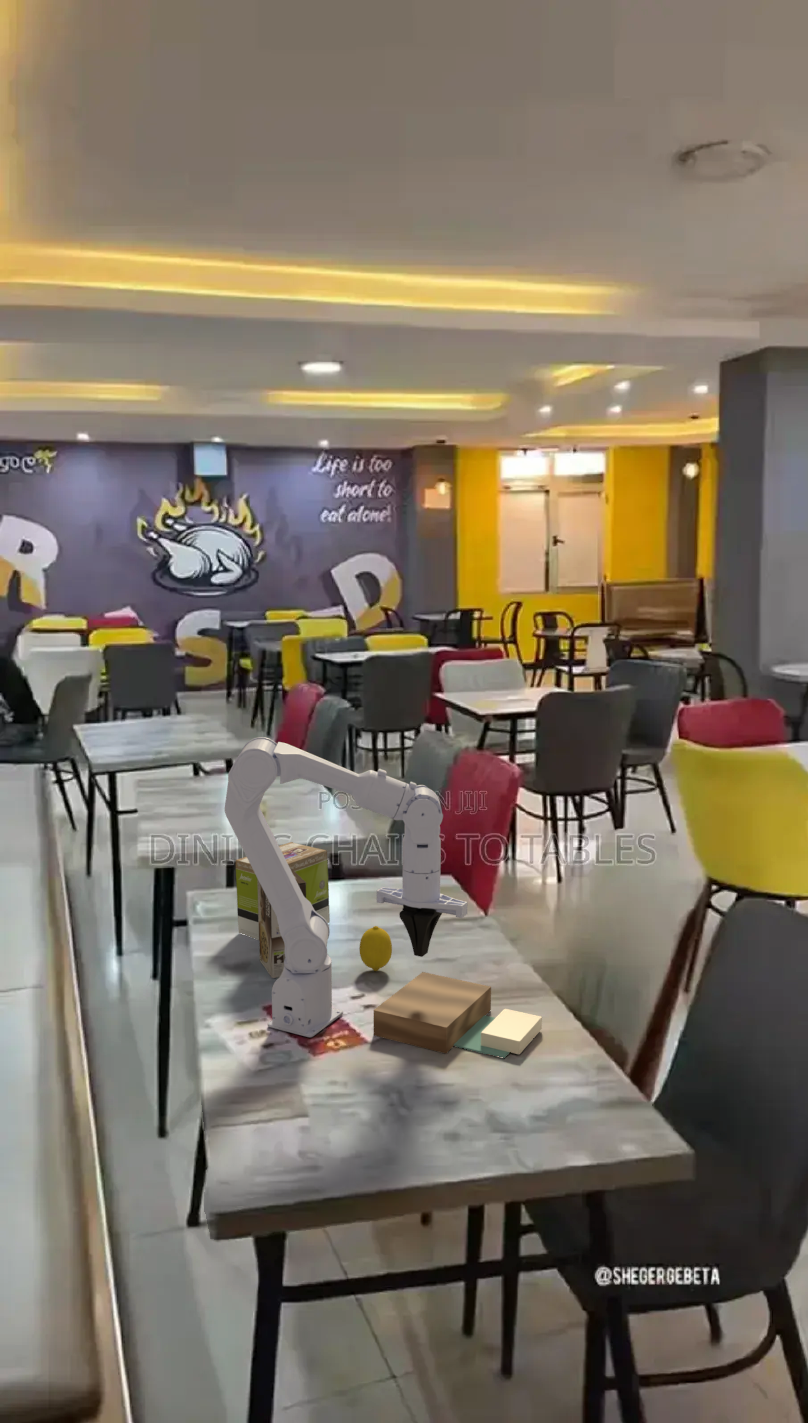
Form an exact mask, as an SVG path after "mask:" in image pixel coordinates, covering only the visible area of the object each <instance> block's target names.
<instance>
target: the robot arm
mask: <svg viewBox="0 0 808 1423" xmlns="http://www.w3.org/2000/svg"><path fill="white" fill-rule="evenodd" d="M387 774H388V773H387V771H386V770H384V769H381V768H378V770H377V771H375V770H373V769H369V770H367V771H364V772H361V773H357V772H355V771H352V770H350V769H348V768H345V767H343V766H341V765H339V764H336V763H334V762H332V761H330V760H326V759H324V758H322V757H319V756H317V755H315V754H313V753H310V752H307V751H306V750H303V749H300V748H298V747H296V746H294V745H291V744H289V743H285V742H281V741H278V742H276V741H275V740H273V739H271V738H269V737H265V736H258V737H253V738H252V739H251V740H250V739H249V740H248V742H246V743H245V744H244V746H243V747H242V749H241V750H240V752H239V755H238V756H237V757H236V758H235V761H234V763H233V764H232V766H231V768H230V770H229V771H228V775H227V788H226V794H225V802H224V813H225V814H224V815H225V817H226V818H227V821H228V822H229V824H230V826H231V828H232V831H233V832H234V835H235V837H236V839H237V841H238V843H239V845H240V846H241V848H242V850H243V853H244V855H245V857H247V858H248V860H249V862H250V864H251V866H252V868H253V870H254V872H255V874H256V876H257V878H258V880H259V882H260V884H261V886H262V888H263V890H264V892H265V894H266V896H267V898H268V900H269V902H270V904H271V906H272V908H273V910H274V912H275V914H276V916H277V921H278V925H279V930H280V934H281V936H282V938H283V941H284V944H285V960H284V969H283V972H282V974H281V976H280V977H278V978H276V980H275V981H274V983H273V985H272V988H271V1017H272V1018H271V1019H272V1020H271V1021H269V1022H268V1023H267V1027H268V1028H272V1029H275V1030H279V1031H283V1032H286V1033H291V1034H295V1035H299V1036H303V1037H307V1038H313V1037H314V1036H315V1035H317V1034H318V1033H320V1032H321V1031H322V1030H323V1029H324V1028H326V1027H328V1026H329V1025H330V1024H332V1023H333V1022H334V1021H335V1020H337V1019H338V1018H340V1017H341V1016H342V1015H344V1011H343V1010H342V1009H337V1008H333V995H332V994H333V989H332V988H333V985H332V984H333V981H332V980H333V978H332V974H333V973H332V972H333V968H332V963H333V962H332V957H330V955H329V954H328V940H329V938H330V931H331V929H330V926H329V923H327V921H326V920H325V919H324V918H323V917H322V916H321V915H319V914H318V913H317V912H316V911H315V910H314V908H313V906H312V904H311V903H310V902H309V901H308V900H307V899H306V898H305V897H304V896H303V894H302V892H301V890H300V887H299V885H298V883H297V881H296V879H295V877H294V875H293V873H292V871H291V869H290V867H289V865H288V863H287V861H286V859H285V857H284V855H283V853H282V851H281V849H280V847H279V846H280V845H279V844H278V841H277V839H276V838H275V835H274V834H273V831H272V829H271V826H270V825H269V824H268V821H267V819H266V817H265V815H264V813H263V811H262V809H261V807H260V805H261V803H262V800H263V798H264V795H265V793H266V792H267V791H268V789H270V787H271V786H272V785H273V783H274V782H275V780H276V779H277V777H279V784H285V783H286V784H287V783H288V782H292V781H296V780H299V779H303V780H305V781H309V782H312V783H314V784H318V785H320V786H323V787H327V788H331V789H333V790H336V791H340V792H343V793H345V794H349V795H350V796H352V797H353V801H354V803H355V804H356V806H357V807H360V808H362V809H365V810H368V811H371V812H373V813H376V814H377V815H378V814H379V815H381V816H384V817H387V818H389V819H392V820H395V821H402V822H403V823H404V836H403V838H402V888H396V887H395V888H394V887H385V886H382V887H381V888H379V889H377V890H376V903H379V904H384V903H386V904H387V903H388V904H392V905H399V906H402V910H401V911H399V913H398V914H399V918H400V920H401V922H402V923H403V925H404V928H405V929H406V932H407V933H408V936H409V939H410V944H411V946H412V950H413V954H414V955H413V956H417V957H419V958H420V957H422V958H423V957H425V956H426V955H427V954H428V952H429V947H430V943H431V940H432V937H433V935H434V934H433V933H434V931H435V928H436V926H437V924H438V922H439V920H440V918H441V917H442V914H446V915H452V916H455V918H460V919H462V918H464V917H465V916H467V915H468V901H464V900H460V899H457V898H454V897H450V896H448V895H446V894H443V893H441V868H442V866H441V864H442V863H441V862H442V860H441V858H442V856H441V853H442V852H441V851H442V850H441V849H442V848H441V847H442V845H441V844H442V840H441V837H440V835H441V826H440V825H441V824H442V822H443V818H444V813H443V811H442V810H443V809H442V806H441V801H440V797H438V795H437V794H436V792H435V791H434V790H432V789H431V788H429V787H428V786H427V785H424V784H418V785H417V783H416V782H414V781H410V782H409V783H407V782H405V781H402V780H399V779H397V778H394V777H391V776H389V775H387Z"/></svg>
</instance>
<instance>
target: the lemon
mask: <svg viewBox="0 0 808 1423" xmlns="http://www.w3.org/2000/svg"><path fill="white" fill-rule="evenodd" d="M359 942H360V943H359V948H358V949H359V956H360V959H361V962H362V964H364V965H365V966H366V967H368V968H370V969H372V970H373V971H374V972H378V971H379V970H380V969H381V968H384V967H386V966H387V965H388V963H389V962H390V960H391V958H392V954H393V944H392V940H391V937H390V934H389V933H388V932H387V930H385V929H383V928H381V927H379V926H378V925H374V926H373V927H370V928H368V929H367V930H366V931H364V933H362V935H361V939H360V941H359Z"/></svg>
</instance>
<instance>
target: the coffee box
mask: <svg viewBox="0 0 808 1423" xmlns="http://www.w3.org/2000/svg"><path fill="white" fill-rule="evenodd" d="M290 869H291V868H290ZM291 871H292V873H293V875H294V877H295V879H296V881H297V883H298V885H299V887H300V890H301V892H302V894H303V896H304V897H305V898H306V882H305V881H304V880H303V879H302V878H301V877H300V876H299V875H298V874H297V873H296V872H295V871H294V870H292V869H291ZM257 882H258V921H259V940H258V943H259V944H258V945H259V946H258V949H259V952H258V954H259V961H260V963H261V964H262V965H263V967H264V968H265V970H266V971H267V973H268V974H269V976H270V977H271V978H272V979H278V978H279V977H280V976H281V974H282V972H283V969H284V960H285V944H284V941H283V938H282V936H281V934H280V930H279V925H278V921H277V916H276V914H275V912H274V910H273V908H272V906H271V904H270V902H269V900H268V898H267V896H266V894H265V892H264V890H263V888H262V886H261V884H260V882H259V880H258V878H257Z"/></svg>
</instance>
